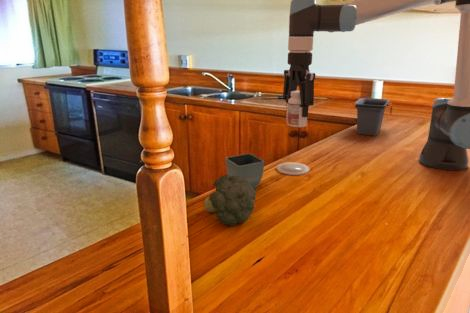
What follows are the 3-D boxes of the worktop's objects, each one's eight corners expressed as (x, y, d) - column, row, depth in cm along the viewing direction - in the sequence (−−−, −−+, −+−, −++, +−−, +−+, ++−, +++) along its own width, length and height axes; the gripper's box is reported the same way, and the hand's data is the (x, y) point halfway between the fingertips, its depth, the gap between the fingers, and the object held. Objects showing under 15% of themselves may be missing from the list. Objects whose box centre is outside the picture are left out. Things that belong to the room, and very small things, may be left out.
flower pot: (238, 195, 107) (238, 166, 104) (225, 185, 114) (224, 157, 111) (264, 189, 110) (265, 161, 108) (250, 180, 118) (250, 153, 115)
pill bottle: (300, 122, 127) (302, 89, 123) (309, 126, 121) (311, 92, 118) (283, 123, 125) (285, 90, 122) (292, 127, 119) (294, 93, 116)
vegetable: (229, 191, 104) (269, 181, 93) (221, 236, 98) (263, 230, 87) (195, 174, 97) (235, 161, 87) (185, 221, 91) (226, 213, 81)
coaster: (316, 171, 125) (316, 169, 124) (288, 177, 120) (288, 175, 120) (296, 162, 134) (296, 160, 134) (270, 167, 129) (270, 165, 129)
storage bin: (358, 125, 188) (361, 96, 183) (391, 128, 181) (395, 99, 177) (350, 134, 170) (352, 103, 165) (386, 138, 163) (390, 106, 159)
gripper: (330, 52, 109) (324, 129, 116) (292, 50, 126) (289, 117, 133) (309, 53, 106) (304, 132, 113) (273, 50, 122) (271, 119, 130)
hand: (296, 124), depth 123 cm, fingers closed on pill bottle, 6 cm apart
